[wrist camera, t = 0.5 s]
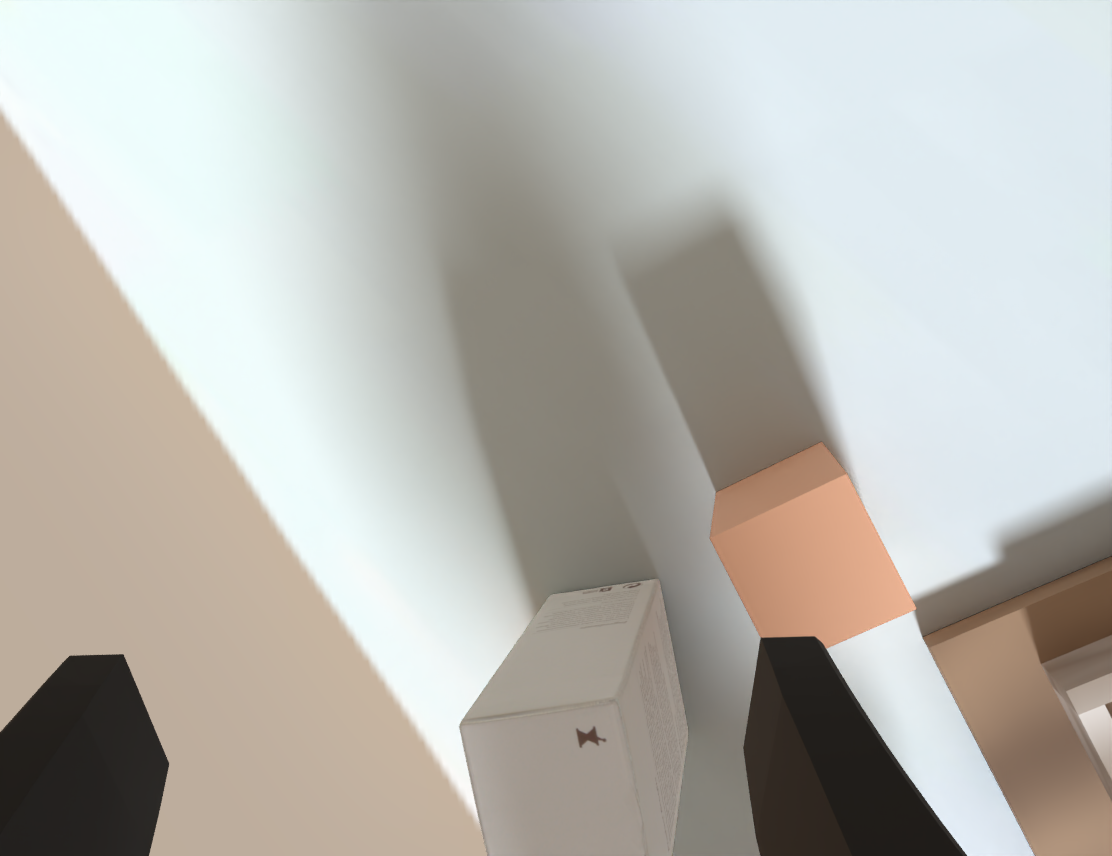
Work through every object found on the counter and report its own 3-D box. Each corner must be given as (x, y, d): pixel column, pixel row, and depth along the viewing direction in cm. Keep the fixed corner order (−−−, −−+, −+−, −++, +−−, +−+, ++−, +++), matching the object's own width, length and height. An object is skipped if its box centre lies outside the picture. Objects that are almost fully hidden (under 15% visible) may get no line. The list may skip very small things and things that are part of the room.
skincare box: (545, 592, 36) (453, 715, 24) (660, 575, 35) (622, 694, 23) (577, 752, 36) (501, 951, 25) (692, 739, 35) (670, 937, 24)
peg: (875, 545, 34) (917, 608, 26) (768, 593, 35) (777, 669, 27) (821, 441, 34) (846, 473, 26) (716, 492, 35) (709, 538, 27)
